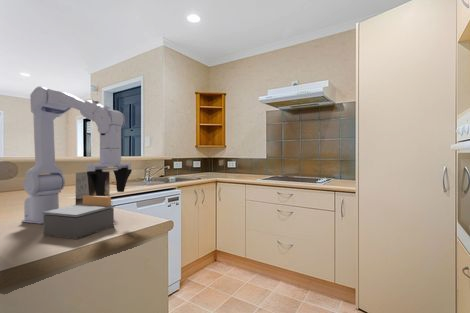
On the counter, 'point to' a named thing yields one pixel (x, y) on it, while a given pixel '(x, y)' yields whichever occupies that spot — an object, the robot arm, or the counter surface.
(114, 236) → the counter surface
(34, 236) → the counter surface
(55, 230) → the grey box
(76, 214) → the box lid
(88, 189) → the coffee box
